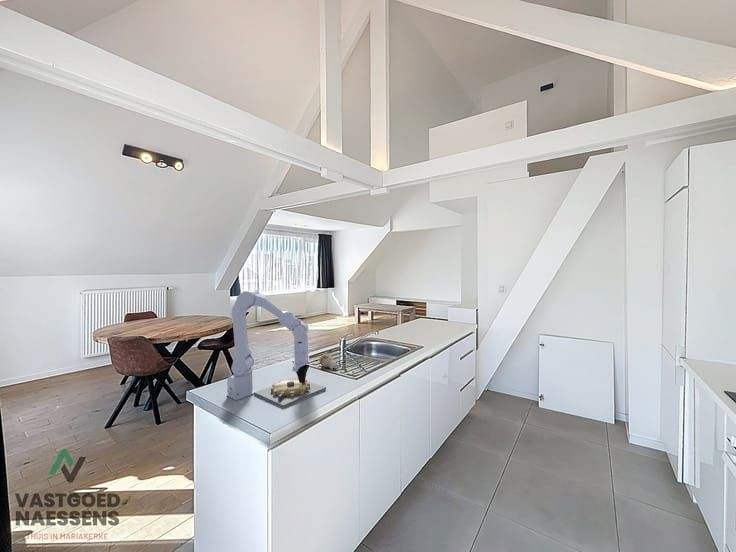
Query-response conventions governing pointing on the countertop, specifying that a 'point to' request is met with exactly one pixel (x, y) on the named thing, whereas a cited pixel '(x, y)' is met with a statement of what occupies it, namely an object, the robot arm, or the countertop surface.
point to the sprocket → (290, 387)
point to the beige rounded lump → (328, 361)
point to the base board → (288, 400)
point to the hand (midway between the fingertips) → (302, 382)
